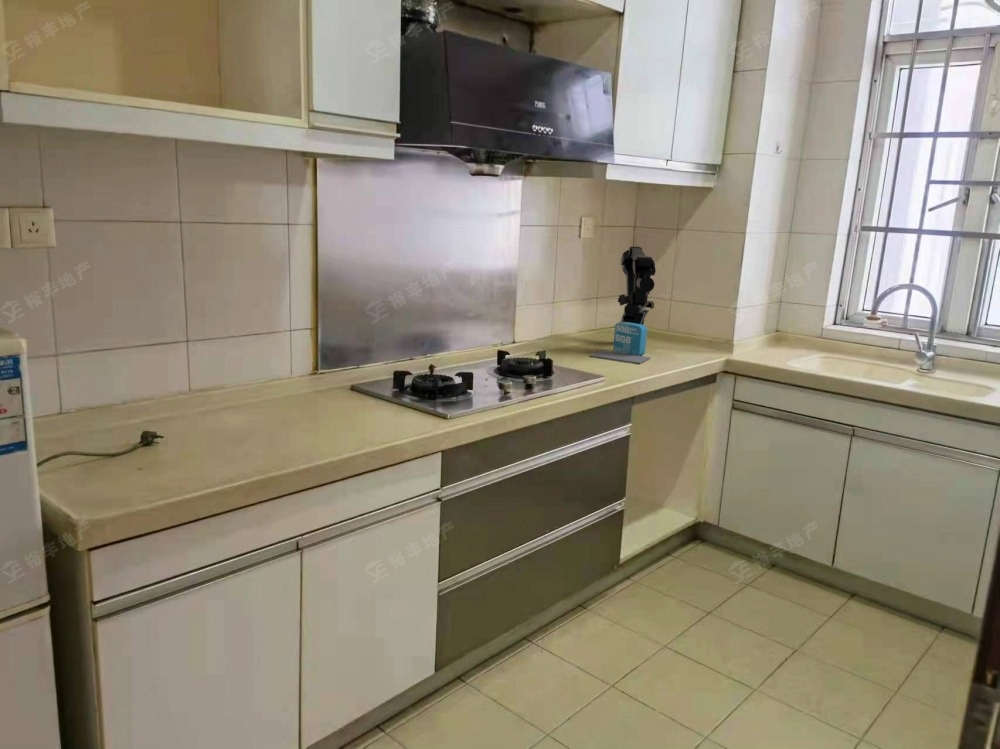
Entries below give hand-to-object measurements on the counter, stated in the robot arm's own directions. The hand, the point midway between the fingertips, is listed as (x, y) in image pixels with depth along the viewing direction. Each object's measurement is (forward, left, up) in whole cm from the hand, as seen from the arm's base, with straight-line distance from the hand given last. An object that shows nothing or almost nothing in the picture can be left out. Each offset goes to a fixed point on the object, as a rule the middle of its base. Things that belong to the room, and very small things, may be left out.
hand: (637, 327), depth 298 cm
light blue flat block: (+8, 0, -10) cm, 12 cm away
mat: (+18, 0, -9) cm, 20 cm away
